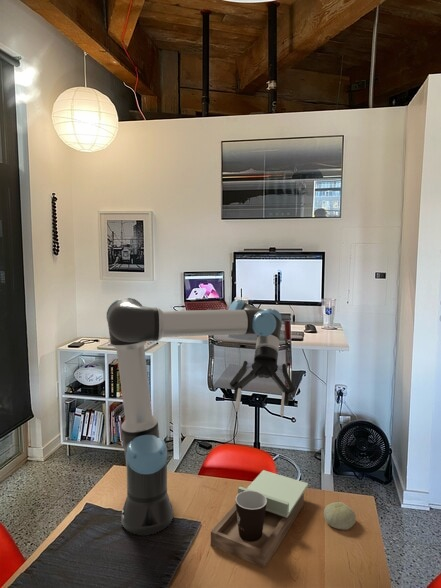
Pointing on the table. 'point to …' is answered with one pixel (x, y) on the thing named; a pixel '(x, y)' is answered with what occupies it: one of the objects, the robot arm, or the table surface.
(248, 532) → the coffee mug
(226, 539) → the brown wooden shallow box
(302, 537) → the table surface
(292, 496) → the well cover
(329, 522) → the sea urchin shell
